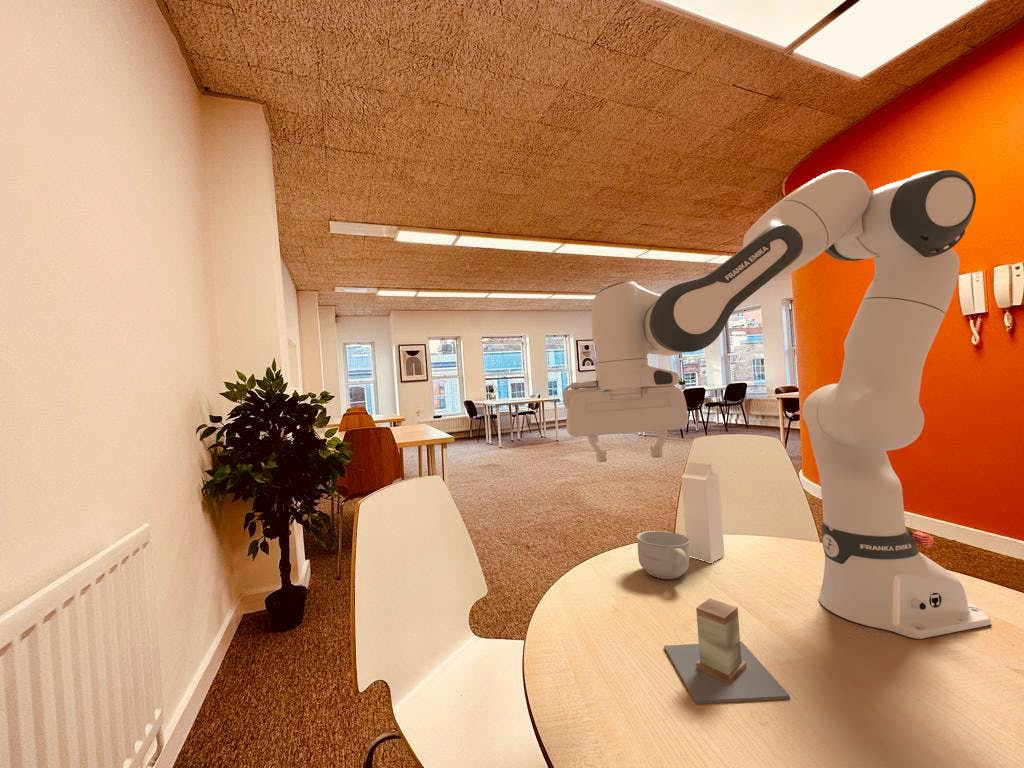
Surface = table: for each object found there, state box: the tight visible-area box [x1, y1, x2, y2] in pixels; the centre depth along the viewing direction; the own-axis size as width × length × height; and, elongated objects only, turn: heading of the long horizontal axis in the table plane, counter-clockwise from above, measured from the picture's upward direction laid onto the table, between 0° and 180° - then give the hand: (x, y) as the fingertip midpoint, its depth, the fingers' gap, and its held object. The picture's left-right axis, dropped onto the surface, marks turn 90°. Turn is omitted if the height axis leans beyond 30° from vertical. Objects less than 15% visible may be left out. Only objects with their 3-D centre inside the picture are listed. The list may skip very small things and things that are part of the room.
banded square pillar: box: [695, 597, 746, 684], centre depth 61 cm, size 5×5×8 cm
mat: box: [663, 640, 791, 705], centre depth 61 cm, size 12×12×1 cm
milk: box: [681, 461, 726, 564], centre depth 101 cm, size 6×6×22 cm
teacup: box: [636, 530, 690, 580], centre depth 92 cm, size 14×11×8 cm
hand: (629, 459), depth 74 cm, fingers open, 8 cm apart
